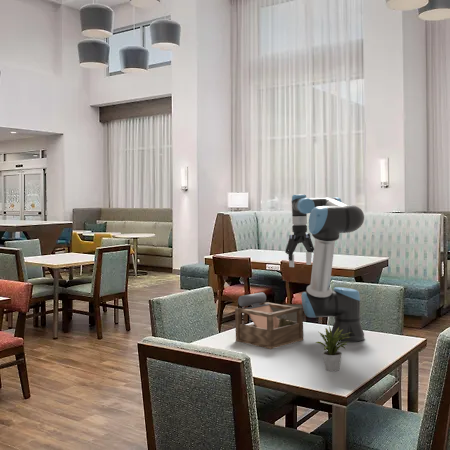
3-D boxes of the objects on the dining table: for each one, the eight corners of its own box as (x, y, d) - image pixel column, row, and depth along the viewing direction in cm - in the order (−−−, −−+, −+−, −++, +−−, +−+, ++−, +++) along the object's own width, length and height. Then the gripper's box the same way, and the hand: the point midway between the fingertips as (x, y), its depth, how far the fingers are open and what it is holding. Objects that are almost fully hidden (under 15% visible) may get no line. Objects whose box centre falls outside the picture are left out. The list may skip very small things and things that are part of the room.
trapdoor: (281, 333, 262) (287, 327, 259) (259, 339, 252) (265, 332, 249) (257, 296, 272) (263, 290, 270) (235, 300, 262) (240, 293, 260)
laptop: (300, 325, 290) (299, 300, 290) (302, 330, 278) (302, 304, 277) (265, 325, 291) (265, 300, 290) (266, 331, 278) (265, 305, 278)
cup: (273, 332, 252) (279, 316, 255) (274, 336, 259) (280, 321, 262) (289, 337, 250) (295, 321, 253) (289, 342, 257) (295, 326, 259)
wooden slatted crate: (303, 339, 257) (302, 307, 256) (270, 349, 242) (270, 314, 242) (268, 332, 273) (267, 302, 273) (235, 340, 258) (235, 308, 258)
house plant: (345, 378, 200) (344, 332, 199) (308, 373, 207) (307, 329, 206) (356, 367, 212) (355, 324, 212) (321, 363, 219) (320, 321, 218)
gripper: (309, 223, 298) (310, 263, 299) (277, 225, 281) (278, 267, 282) (320, 223, 292) (321, 264, 293) (289, 225, 276) (290, 268, 276)
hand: (300, 265), depth 288 cm, fingers open, 13 cm apart
